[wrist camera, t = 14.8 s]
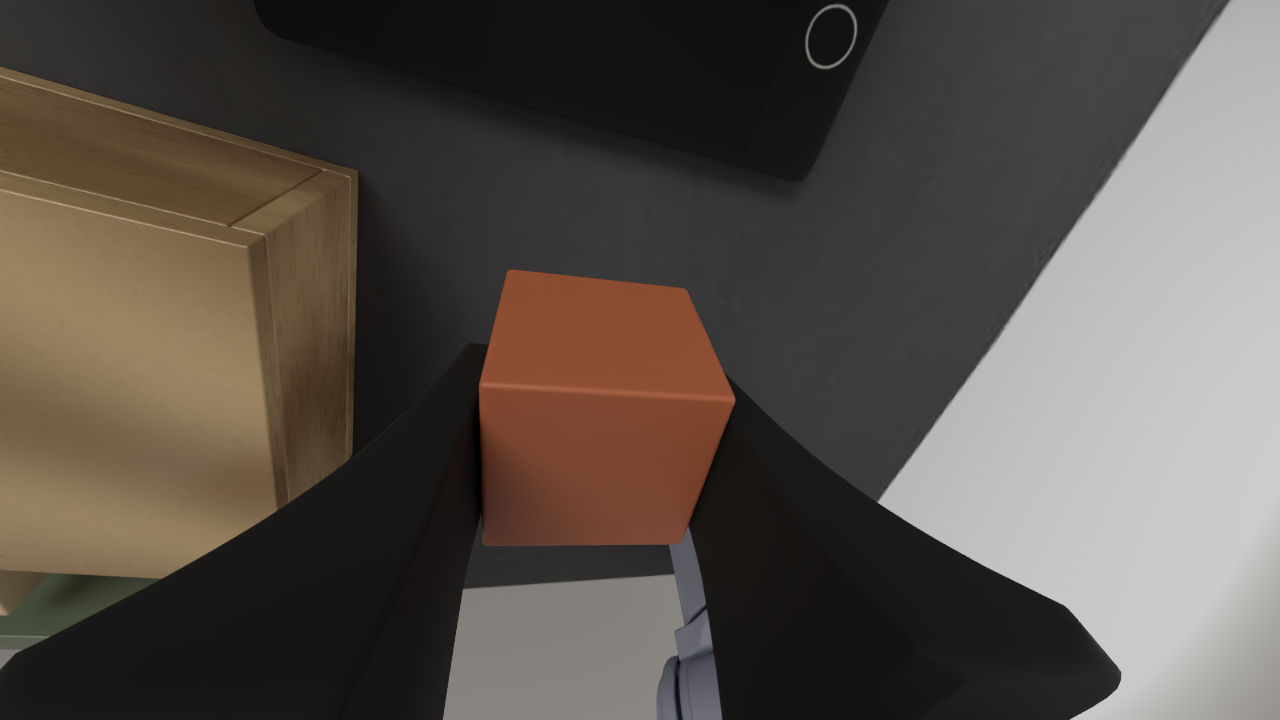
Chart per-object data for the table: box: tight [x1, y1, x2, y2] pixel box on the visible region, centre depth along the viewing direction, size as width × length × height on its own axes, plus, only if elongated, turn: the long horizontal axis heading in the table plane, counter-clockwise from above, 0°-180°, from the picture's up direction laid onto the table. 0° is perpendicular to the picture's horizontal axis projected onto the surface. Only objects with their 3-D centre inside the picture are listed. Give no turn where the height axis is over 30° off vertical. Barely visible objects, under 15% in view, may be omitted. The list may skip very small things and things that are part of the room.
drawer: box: [0, 570, 160, 650], centre depth 21 cm, size 18×11×5 cm, turn 160°
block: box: [479, 270, 735, 546], centre depth 10 cm, size 4×4×4 cm
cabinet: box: [0, 67, 359, 579], centre depth 16 cm, size 15×13×7 cm
